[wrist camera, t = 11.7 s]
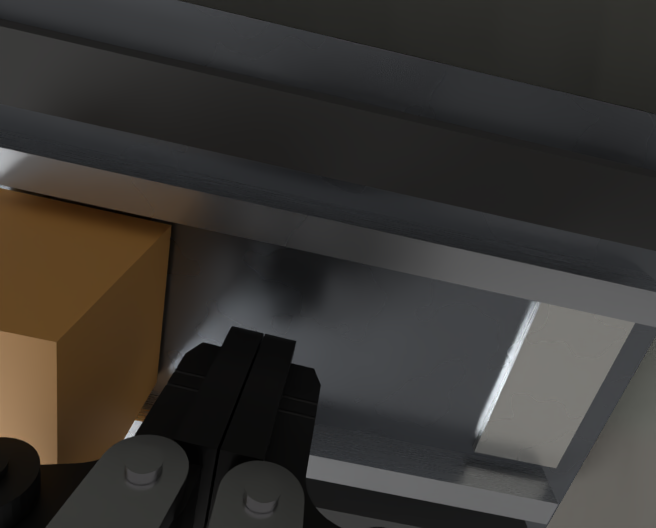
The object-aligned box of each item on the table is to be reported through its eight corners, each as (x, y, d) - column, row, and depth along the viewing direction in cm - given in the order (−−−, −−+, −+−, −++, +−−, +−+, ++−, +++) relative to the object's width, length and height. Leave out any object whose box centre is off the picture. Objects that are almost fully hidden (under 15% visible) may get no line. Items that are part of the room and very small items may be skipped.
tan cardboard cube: (171, 225, 12) (56, 342, 7) (157, 381, 14) (58, 554, 9) (-2, 187, 12) (-233, 283, 7) (8, 352, 13) (-170, 512, 9)
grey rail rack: (695, 180, 11) (737, 197, 10) (504, 541, 16) (517, 581, 15) (-145, -16, 10) (-211, -24, 9) (-79, 428, 15) (-116, 461, 14)
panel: (693, 123, 13) (814, 152, 9) (501, 504, 19) (534, 607, 15) (-101, -67, 12) (-280, -109, 9) (-48, 396, 18) (-143, 480, 14)
